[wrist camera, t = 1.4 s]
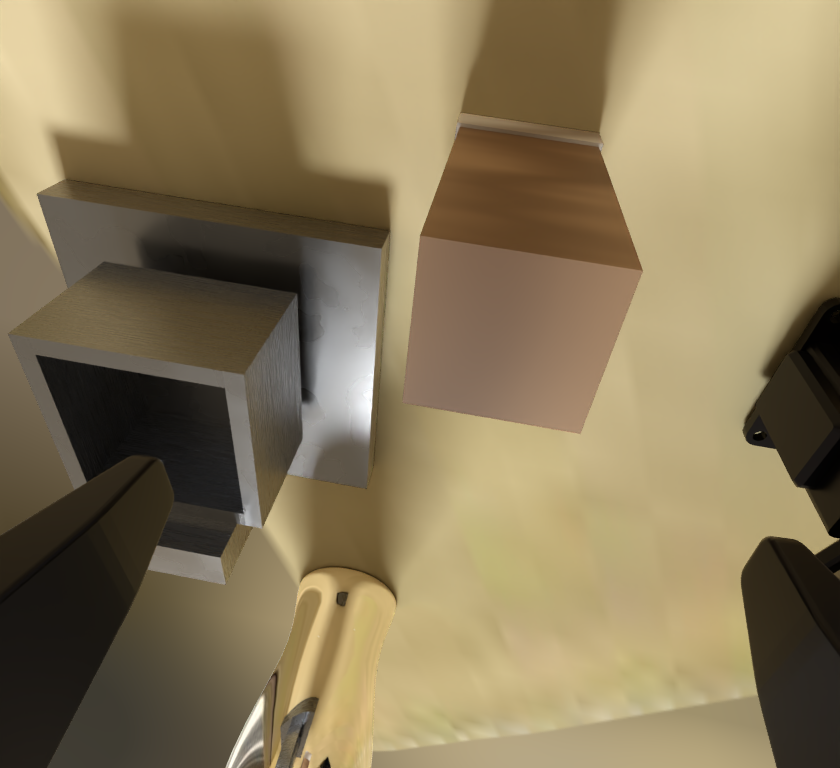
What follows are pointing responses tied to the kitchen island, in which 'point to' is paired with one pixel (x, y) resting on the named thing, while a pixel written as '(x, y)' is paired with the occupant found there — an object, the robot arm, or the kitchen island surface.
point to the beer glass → (322, 678)
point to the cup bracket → (208, 355)
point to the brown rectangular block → (519, 276)
